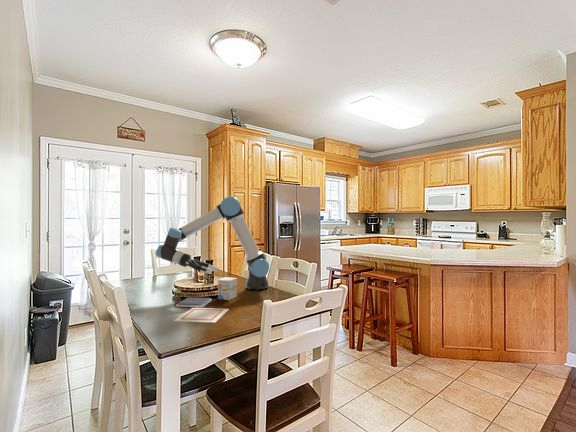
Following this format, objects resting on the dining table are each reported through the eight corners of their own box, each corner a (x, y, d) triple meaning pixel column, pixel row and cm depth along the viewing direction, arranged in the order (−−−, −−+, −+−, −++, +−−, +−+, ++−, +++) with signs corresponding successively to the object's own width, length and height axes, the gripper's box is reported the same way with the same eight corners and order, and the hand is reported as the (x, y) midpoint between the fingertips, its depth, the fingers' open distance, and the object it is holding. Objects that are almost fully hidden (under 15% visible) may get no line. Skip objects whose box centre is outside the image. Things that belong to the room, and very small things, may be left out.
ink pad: (211, 300, 176) (211, 297, 176) (202, 307, 163) (202, 304, 163) (187, 299, 178) (187, 296, 178) (175, 306, 164) (175, 303, 164)
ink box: (217, 299, 179) (217, 279, 179) (225, 295, 187) (224, 276, 187) (230, 300, 176) (230, 280, 176) (237, 296, 184) (237, 277, 184)
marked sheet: (228, 309, 159) (228, 308, 159) (215, 322, 139) (215, 321, 139) (192, 308, 161) (192, 307, 161) (173, 321, 141) (173, 320, 141)
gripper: (187, 263, 195) (218, 274, 194) (171, 266, 170) (206, 279, 169) (191, 252, 195) (222, 263, 194) (176, 254, 170) (211, 266, 169)
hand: (215, 271), depth 182 cm, fingers open, 13 cm apart
